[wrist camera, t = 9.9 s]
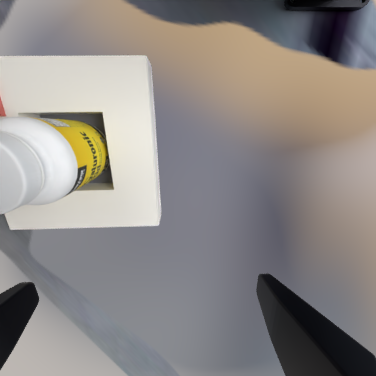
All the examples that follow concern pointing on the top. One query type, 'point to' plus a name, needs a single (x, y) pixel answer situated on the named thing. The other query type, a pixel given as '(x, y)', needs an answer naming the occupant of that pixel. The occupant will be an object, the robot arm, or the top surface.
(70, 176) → the supplement bottle
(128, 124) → the socket plate
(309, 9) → the robot arm
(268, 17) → the top surface
